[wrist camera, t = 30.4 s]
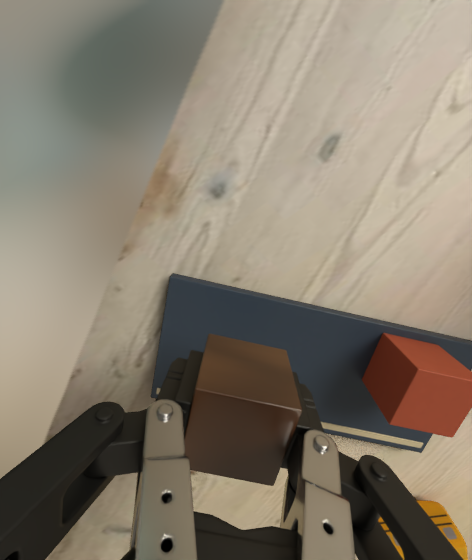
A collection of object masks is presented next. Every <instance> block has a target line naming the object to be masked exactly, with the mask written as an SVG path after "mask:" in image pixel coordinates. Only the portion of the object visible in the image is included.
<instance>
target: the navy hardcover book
mask: <svg viewBox="0 0 472 560" xmlns="http://www.w3.org/2000/svg"><path fill="white" fill-rule="evenodd" d="M383 333H387V334H391V335H396V336H400V337H405V338H409V339H414V340H418V341H423V342H427V343H432V344H436V345H439V346H440V347H441V348H442V349H444V350H445V351H446V352H447V353H449V354H450V355H451V356H452V357H454V358H455V359H456V360H457V361H459V362H460V363H461V364H462V365H464V366H465V367H466V368H467V369H469V370H470V371H471V370H472V341H470V340H465V339H461V338H457V337H452V336H448V335H443V334H439V333H434V332H430V331H426V330H421V329H417V328H412V327H408V326H404V325H399V324H395V323H390V322H386V321H381V320H377V319H373V318H368V317H364V316H359V315H355V314H351V313H346V312H342V311H337V310H333V309H328V308H324V307H320V306H315V305H311V304H306V303H302V302H298V301H293V300H289V299H284V298H280V297H275V296H271V295H267V294H262V293H258V292H253V291H249V290H245V289H240V288H236V287H231V286H227V285H222V284H218V283H214V282H209V281H205V280H200V279H196V278H192V277H187V276H183V275H178V274H174V273H173V274H172V275H171V276H170V279H169V286H168V292H167V298H166V304H165V311H164V317H163V323H162V329H161V336H160V342H159V348H158V355H157V361H156V367H155V373H154V380H153V386H152V392H151V397H152V398H157V397H158V394H159V392H160V389H161V387H162V385H163V382H164V380H165V378H166V375H167V373H168V371H169V368H170V366H171V363H172V362H173V361H175V360H176V359H177V358H178V357H179V358H183V359H188V357H189V354H190V351H191V350H195V351H200V352H204V349H205V345H206V341H207V337H208V334H214V335H219V336H224V337H228V338H233V339H237V340H242V341H247V342H251V343H256V344H260V345H265V346H269V347H274V348H279V349H283V350H286V351H287V355H288V358H289V362H290V366H291V370H292V372H296V373H297V376H298V380H299V383H300V384H305V385H306V387H307V388H308V389H309V390H310V392H311V393H312V397H313V400H314V403H315V406H316V409H317V412H318V415H319V418H320V421H321V424H322V427H323V430H324V433H328V434H333V435H337V436H342V437H347V438H352V439H357V440H362V441H367V442H372V443H376V444H381V445H386V446H391V447H396V448H401V449H406V450H410V451H415V452H420V453H421V452H422V451H423V449H424V448H425V446H426V444H427V443H428V441H429V439H430V438H431V436H432V434H433V433H428V432H423V431H419V430H414V429H409V428H404V427H399V426H395V425H390V424H389V423H388V422H387V420H386V418H385V417H384V415H383V414H382V412H381V410H380V409H379V407H378V405H377V404H376V402H375V401H374V399H373V397H372V396H371V394H370V392H369V391H368V389H367V388H366V386H365V384H364V383H363V381H362V378H363V376H364V373H365V371H366V369H367V367H368V365H369V363H370V360H371V358H372V356H373V354H374V352H375V349H376V347H377V345H378V343H379V341H380V338H381V336H382V334H383Z"/></svg>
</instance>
